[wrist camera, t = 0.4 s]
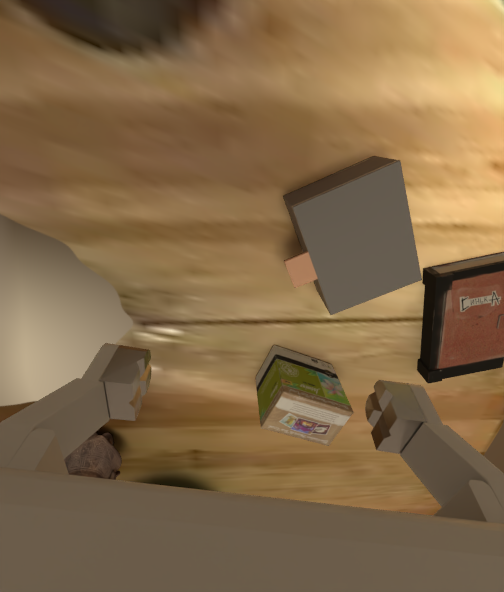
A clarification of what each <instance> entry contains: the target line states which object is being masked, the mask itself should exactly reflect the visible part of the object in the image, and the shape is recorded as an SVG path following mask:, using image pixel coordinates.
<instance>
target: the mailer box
mask: <svg viewBox="0 0 504 592" xmlns="http://www.w3.org/2000/svg"><path fill="white" fill-rule="evenodd" d="M394 161H396V160H394V159H388V158H382V157H377V156H373V157H370V158H368V159H366V160H364V161H361V162H359V163H357V164H355V165H352V166H350V167H348V168H346V169H343V170H341V171H339V172H336V173H334V174H332V175H330V176H327V177H325V178H323V179H321V180H318V181H316V182H314V183H312V184H309V185H307V186H305V187H303V188H300V189H298V190H296V191H294V192H291V193H289V194H287V195H285V196H283V198H284V201H285V204H286V206H287V209H288V212H289V215H290V217H291V220H292V223H293V226H294V228H295V231H296V234H297V237H298V239H299V242H300V245H301V248H302V250H303V253H304V252H306V251H307V248H306V245H305V243H304V240H303V237H302V234H301V231H300V229H299V226H298V223H297V220H296V217H295V214H294V212H293V209H292V206H293V205H296V204H298V203H300V202H303V201H305V200H307V199H310V198H312V197H314V196H316V195H319V194H321V193H323V192H326V191H328V190H330V189H332V188H335V187H337V186H339V185H342V184H344V183H346V182H348V181H351V180H353V179H355V178H358V177H360V176H362V175H364V174H367V173H369V172H371V171H374V170H376V169H378V168H380V167H383V166H385V165H387V164H390V163H392V162H394ZM314 283H315V286H316V289H317V292H318V293H319V295H320V297H321V299H322V300H323V302H324V304H325V306H326V308H327V309H328V307H327V304H326V302H325V299H324V296H323V293H322V290H321V288H320V285H319V282H318V279H316V280H314ZM328 311H329V310H328Z"/></svg>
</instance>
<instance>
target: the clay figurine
mask: <svg viewBox="0 0 504 592" xmlns="http://www.w3.org/2000/svg"><path fill="white" fill-rule="evenodd" d="M113 444H114V441H113V437H112V435H111V434H110V433H104V434H103V435H98V433H96V432H95V433H94V434H93V435H91V436H90V437H89V438H88V439H87V440H86V441H85V442H83V443H82V444H81V445H80V446H79V447H78V448H76V449H75V450H74V451H73V452H72V453H71V454H70V455H68V456H67V457H66V458H65V459H64V461H65V464H66V467H67V470H68V473H69V475H77V476H85V477H94V478H103V479H112V480H116V477H117V476H118V475H119V474H120V471H117V470H118V469H119V468H120V466H121V462H122V460H121V456H120V454H119V452H118V451H117V450H116V449H115V447H114V446H113Z"/></svg>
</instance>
